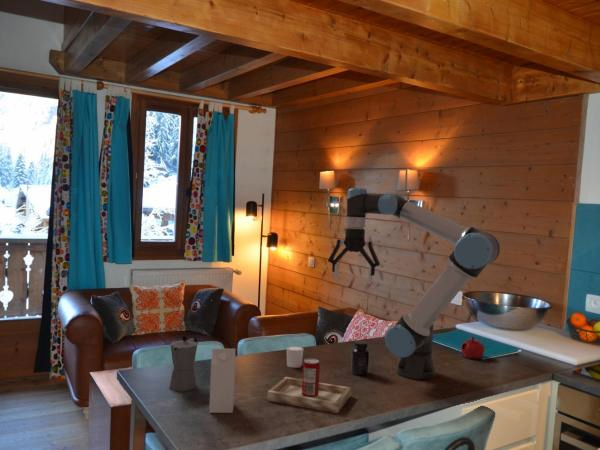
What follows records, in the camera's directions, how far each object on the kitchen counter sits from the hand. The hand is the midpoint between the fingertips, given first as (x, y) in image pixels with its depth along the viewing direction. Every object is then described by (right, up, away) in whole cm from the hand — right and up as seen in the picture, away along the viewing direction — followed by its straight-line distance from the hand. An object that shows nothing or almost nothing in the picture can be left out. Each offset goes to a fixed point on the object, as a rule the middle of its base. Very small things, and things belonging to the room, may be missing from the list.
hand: (352, 282), depth 208 cm
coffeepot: (-61, -34, -24) cm, 73 cm away
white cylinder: (-23, -34, +4) cm, 41 cm away
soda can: (-17, -35, -30) cm, 49 cm away
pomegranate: (+55, -36, +27) cm, 71 cm away
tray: (-17, -36, -30) cm, 50 cm away
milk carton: (-45, -35, -42) cm, 71 cm away
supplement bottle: (+3, -35, -2) cm, 35 cm away
